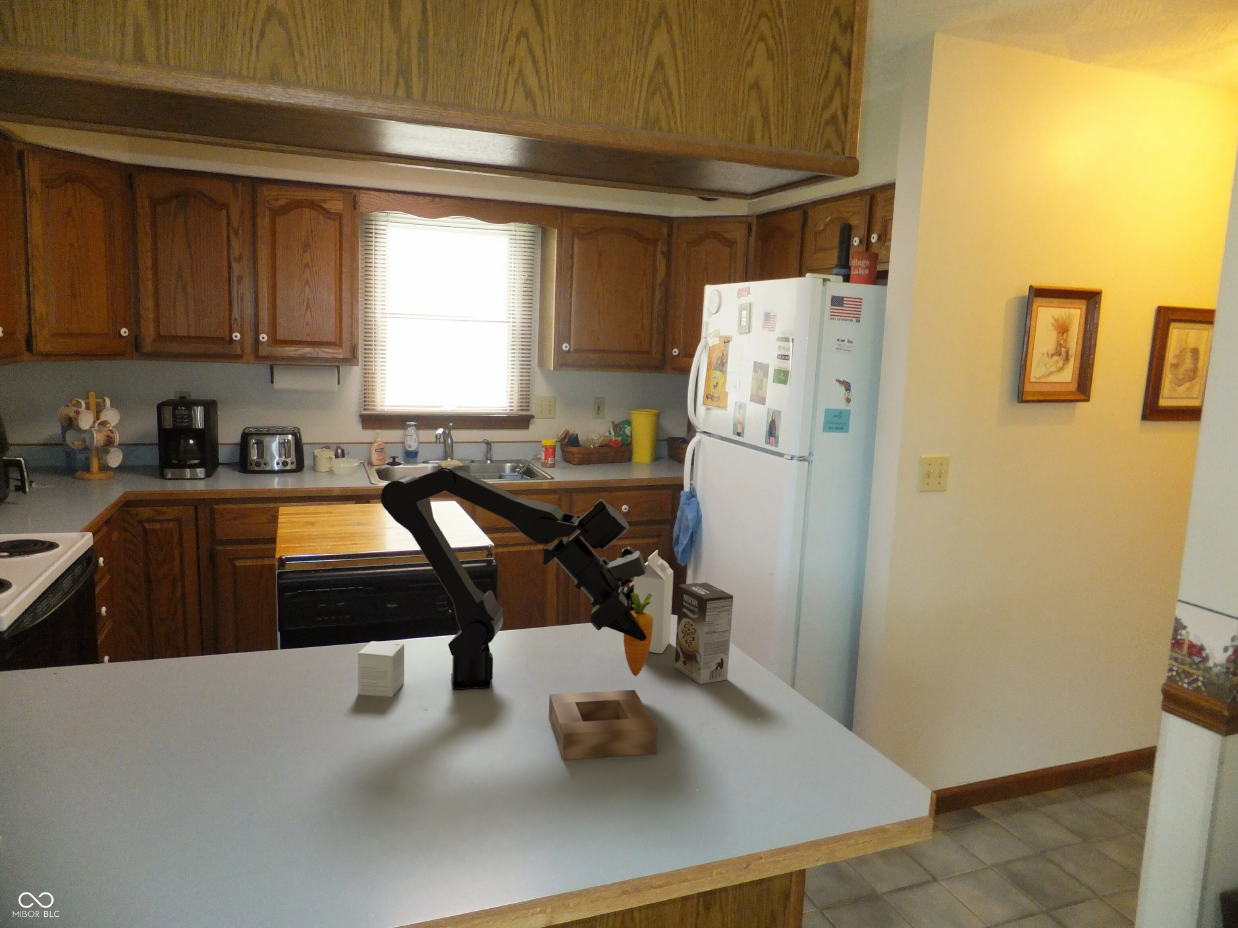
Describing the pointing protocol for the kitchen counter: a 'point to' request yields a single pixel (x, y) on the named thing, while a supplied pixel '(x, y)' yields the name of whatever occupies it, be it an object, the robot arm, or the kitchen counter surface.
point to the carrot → (634, 647)
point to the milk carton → (657, 599)
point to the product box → (380, 669)
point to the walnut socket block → (601, 724)
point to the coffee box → (703, 632)
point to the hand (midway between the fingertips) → (645, 634)
